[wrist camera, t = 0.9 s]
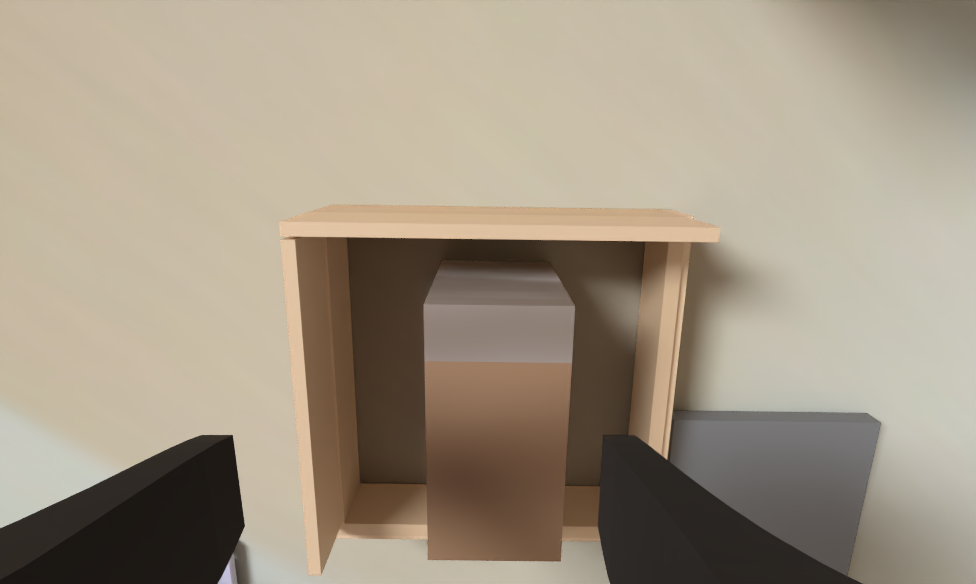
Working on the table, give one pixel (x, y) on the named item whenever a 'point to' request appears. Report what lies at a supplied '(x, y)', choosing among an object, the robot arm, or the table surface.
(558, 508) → the walnut box
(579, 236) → the wooden drawer
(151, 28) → the table surface
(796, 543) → the slate mat
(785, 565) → the robot arm
